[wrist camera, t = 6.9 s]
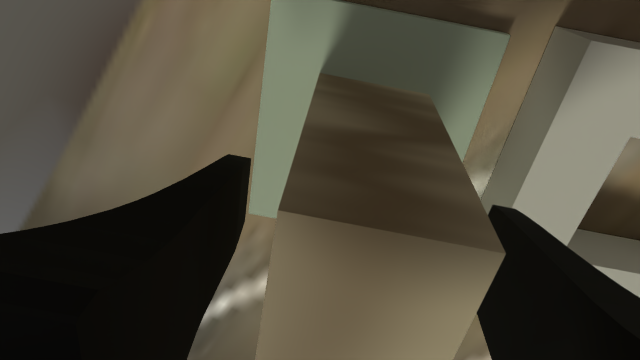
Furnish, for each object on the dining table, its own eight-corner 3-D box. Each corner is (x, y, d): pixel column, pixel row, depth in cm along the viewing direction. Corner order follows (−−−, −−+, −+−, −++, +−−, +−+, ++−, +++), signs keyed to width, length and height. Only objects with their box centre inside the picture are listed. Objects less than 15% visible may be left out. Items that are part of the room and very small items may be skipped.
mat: (506, 32, 14) (510, 35, 14) (428, 240, 19) (430, 247, 18) (275, -13, 14) (272, -12, 14) (251, 206, 19) (248, 213, 18)
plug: (429, 94, 15) (506, 253, 7) (399, 188, 17) (434, 394, 9) (319, 72, 15) (277, 210, 7) (302, 170, 17) (254, 361, 9)
